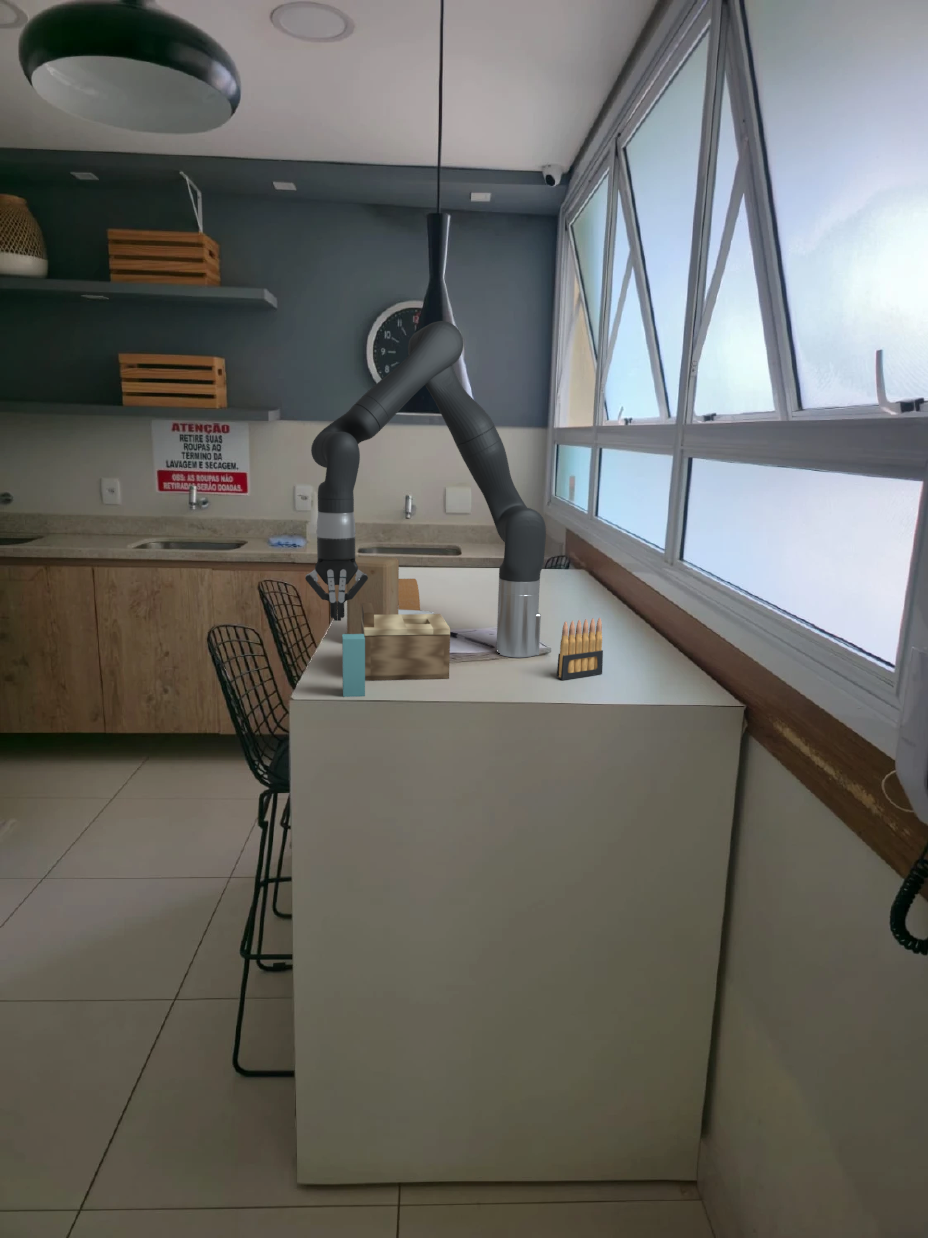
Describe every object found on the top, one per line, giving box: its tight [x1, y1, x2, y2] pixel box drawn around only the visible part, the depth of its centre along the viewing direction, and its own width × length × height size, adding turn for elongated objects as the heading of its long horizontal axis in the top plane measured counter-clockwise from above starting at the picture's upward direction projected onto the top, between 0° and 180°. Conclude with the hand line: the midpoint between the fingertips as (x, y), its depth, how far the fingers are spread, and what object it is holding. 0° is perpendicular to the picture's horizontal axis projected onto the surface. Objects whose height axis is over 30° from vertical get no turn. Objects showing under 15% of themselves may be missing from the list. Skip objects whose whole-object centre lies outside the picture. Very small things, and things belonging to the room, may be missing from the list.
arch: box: [398, 578, 421, 611], centre depth 220 cm, size 6×20×10 cm, turn 10°
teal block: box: [341, 633, 366, 698], centre depth 149 cm, size 4×4×11 cm
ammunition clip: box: [556, 617, 604, 681], centre depth 164 cm, size 11×2×12 cm, turn 120°
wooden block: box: [346, 555, 400, 634], centre depth 186 cm, size 10×10×20 cm
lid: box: [361, 603, 451, 636], centre depth 164 cm, size 17×14×4 cm
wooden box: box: [361, 621, 451, 682], centre depth 165 cm, size 17×14×9 cm
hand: (337, 619), depth 162 cm, fingers closed
